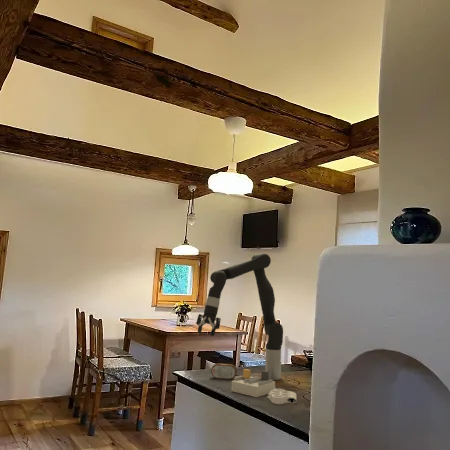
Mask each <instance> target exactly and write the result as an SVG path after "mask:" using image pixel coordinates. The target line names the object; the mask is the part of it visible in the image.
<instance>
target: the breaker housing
mask: <svg viewBox="0 0 450 450" xmlns="http://www.w3.org/2000/svg"><path fill="white" fill-rule="evenodd" d="M242 378H243V375H239V376H235V377H234V380H231V389H230V390H231V392H234V393H238V394H242V395H247V396H251V397H254V398H258V397H261V396H265V395H268V393H270V391H272V390H273V389H275V386H276V381H275V380H273V379H269V380H266V381H260V380H261V377H259V376H251V377H250V378H248V379H242Z"/></svg>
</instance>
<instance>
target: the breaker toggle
mask: <svg viewBox="0 0 450 450" xmlns="http://www.w3.org/2000/svg"><path fill="white" fill-rule="evenodd" d="M251 371H252V370H251V369H247V368H244V369H243V373H242V374H243V375H242V376H243V378H242V379H248V378H250V377H252V375H251V373H252V372H251Z"/></svg>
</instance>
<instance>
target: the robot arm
mask: <svg viewBox="0 0 450 450" xmlns="http://www.w3.org/2000/svg"><path fill="white" fill-rule="evenodd" d="M271 261H272V259H271V257H270V255H269V254H267V253H256V254H254V255H252V257H251V260H247V261H244V262H240V263H237V264H234V265H230V266H228V267H226V268H223V269H220V270H219V269H218V270H216V271H214V272H212V273H211V274H210V279H209V280H210V281H211V282H212V283H213V285H212V286H211V287H210V288H209V290H208V294H207V298H206V300H205V306H204V309H203V314H200V313H198V315H197V319H196V322H195V325H197V326H198V328H197V333H198V334H202V331H203V326H205V325H206V324H207V325H210V326H211V331H210V335H209V336H211V337H214V336H215V333H216V330H219V329H220V325H221V321H222V318H221V317H217V315H218V311H219V306H220V302H221V301H220V300H221V296H222V292H223V289H224V287H225V285H226V283H227V280H233V279H235V278H238V277H240V276H242V275H245V274H247V273H251V272H253V274H254V276H255V282H256V287H257V291H258V297H259V301H260V306H261V312H262V317H263V318H262V319H263V328H264V332H265V334H266V335H267V336H268V339H267V340H268V342H267V343H265V361H264V363H265V365H264V371H268V372H269V380H270V379H273V381H278V380H281V379H282V360H281V359H282V355H281V354H282V346H283V339H284V328H283V325H282V324H281V323H280V322H277V321H276V316H275V303H276V297H275V291H274V288H273V286H272V284H271V282H270V280H268V277H267V275H266V271H265V269H266V268H268V267H269V266H270V265H271Z"/></svg>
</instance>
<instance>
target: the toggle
mask: <svg viewBox="0 0 450 450" xmlns="http://www.w3.org/2000/svg"><path fill="white" fill-rule="evenodd" d="M260 378H261V380H260V381H266V380H270V379H269V372H268V371H265V370H261V376H260Z"/></svg>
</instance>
